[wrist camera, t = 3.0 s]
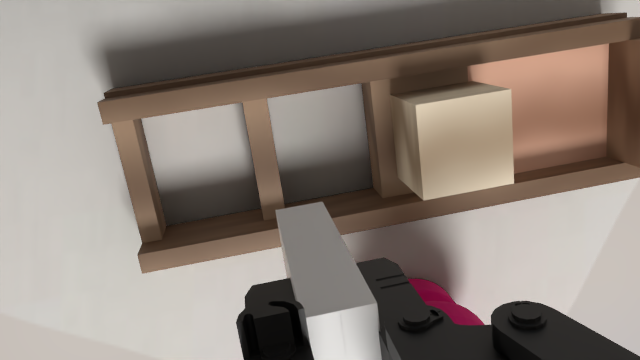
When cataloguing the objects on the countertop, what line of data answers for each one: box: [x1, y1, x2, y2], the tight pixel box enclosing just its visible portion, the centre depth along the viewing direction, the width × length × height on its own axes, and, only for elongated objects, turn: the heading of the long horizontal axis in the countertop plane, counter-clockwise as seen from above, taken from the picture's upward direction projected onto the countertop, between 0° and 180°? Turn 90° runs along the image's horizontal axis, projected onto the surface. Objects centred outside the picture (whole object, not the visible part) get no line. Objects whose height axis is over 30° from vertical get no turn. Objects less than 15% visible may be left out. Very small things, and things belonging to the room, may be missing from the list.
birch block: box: [390, 81, 514, 200], centre depth 26 cm, size 4×4×4 cm
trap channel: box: [98, 13, 640, 273], centre depth 27 cm, size 9×27×5 cm, turn 99°
